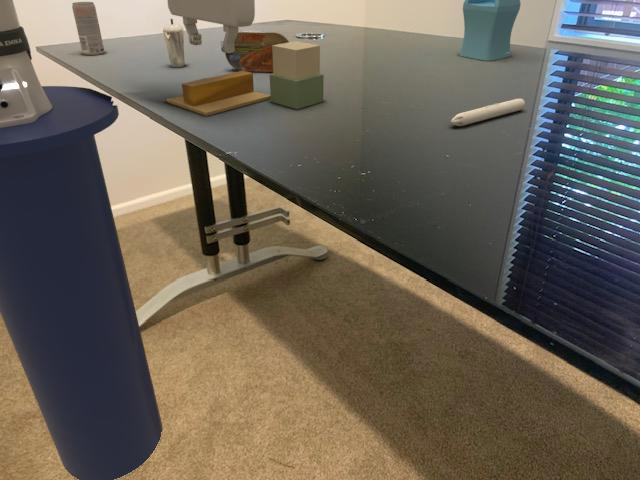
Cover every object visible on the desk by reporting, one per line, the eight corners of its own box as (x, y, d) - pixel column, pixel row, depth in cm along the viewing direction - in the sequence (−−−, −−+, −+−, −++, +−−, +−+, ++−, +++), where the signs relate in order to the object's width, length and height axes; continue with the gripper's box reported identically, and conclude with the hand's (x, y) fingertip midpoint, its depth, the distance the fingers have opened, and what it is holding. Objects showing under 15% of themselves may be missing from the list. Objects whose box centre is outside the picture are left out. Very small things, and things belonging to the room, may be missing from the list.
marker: (455, 130, 81) (457, 115, 80) (445, 126, 82) (447, 112, 81) (523, 111, 90) (526, 98, 89) (513, 108, 91) (516, 95, 90)
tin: (226, 71, 115) (222, 31, 111) (230, 68, 118) (227, 29, 114) (290, 73, 113) (289, 33, 109) (293, 70, 116) (292, 31, 112)
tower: (297, 109, 90) (296, 50, 85) (270, 101, 94) (268, 45, 89) (323, 101, 94) (324, 45, 89) (297, 94, 98) (296, 40, 93)
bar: (253, 91, 98) (252, 73, 96) (194, 106, 89) (191, 86, 87) (243, 88, 100) (242, 70, 98) (184, 103, 91) (181, 83, 89)
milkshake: (187, 62, 122) (181, 18, 117) (188, 67, 118) (182, 21, 113) (167, 63, 121) (161, 18, 116) (168, 68, 117) (161, 22, 112)
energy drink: (100, 50, 135) (90, 1, 129) (107, 53, 131) (97, 3, 125) (80, 52, 132) (68, 2, 126) (86, 56, 128) (74, 4, 122)
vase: (456, 55, 132) (471, -56, 119) (478, 50, 138) (495, -56, 125) (488, 61, 126) (508, -55, 113) (510, 56, 131) (531, -55, 118)
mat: (206, 116, 86) (206, 112, 86) (167, 102, 93) (166, 99, 93) (271, 98, 96) (270, 95, 96) (231, 87, 103) (230, 84, 102)
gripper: (153, -44, 87) (163, 42, 94) (228, -38, 75) (233, 59, 82) (184, -44, 91) (192, 38, 98) (260, -38, 79) (262, 55, 86)
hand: (211, 48), depth 90 cm, fingers open, 8 cm apart
